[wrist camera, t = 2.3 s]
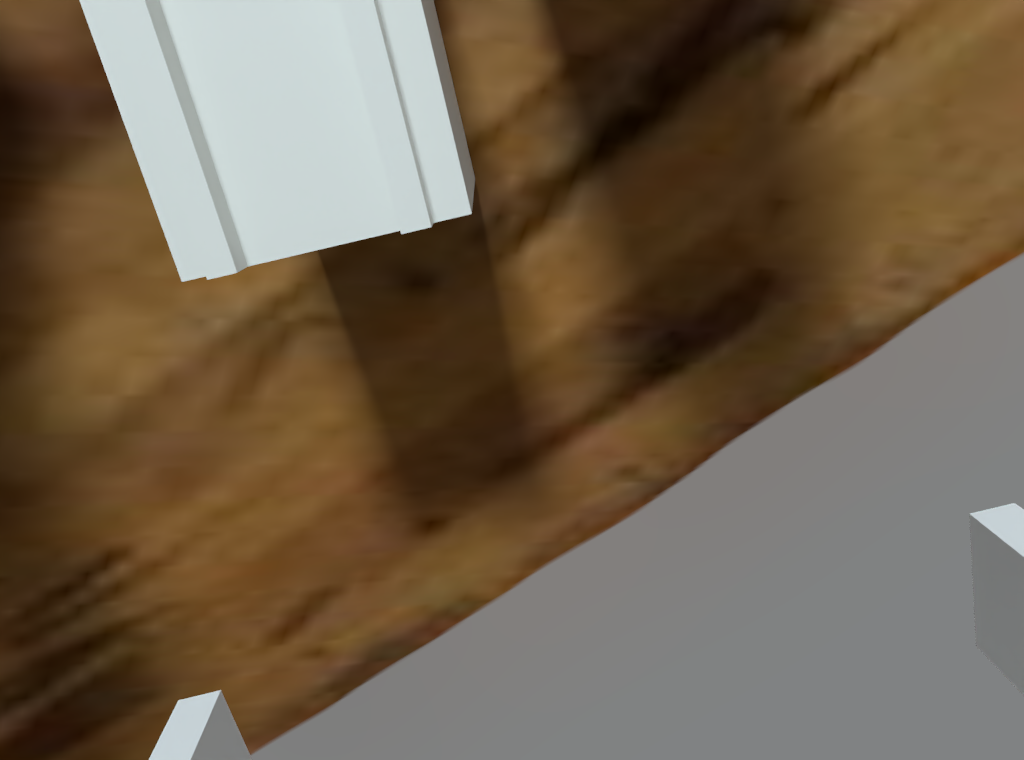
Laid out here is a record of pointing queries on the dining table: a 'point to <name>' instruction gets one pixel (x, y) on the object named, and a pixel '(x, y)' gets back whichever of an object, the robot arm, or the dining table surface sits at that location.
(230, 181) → the rest
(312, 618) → the dining table surface
